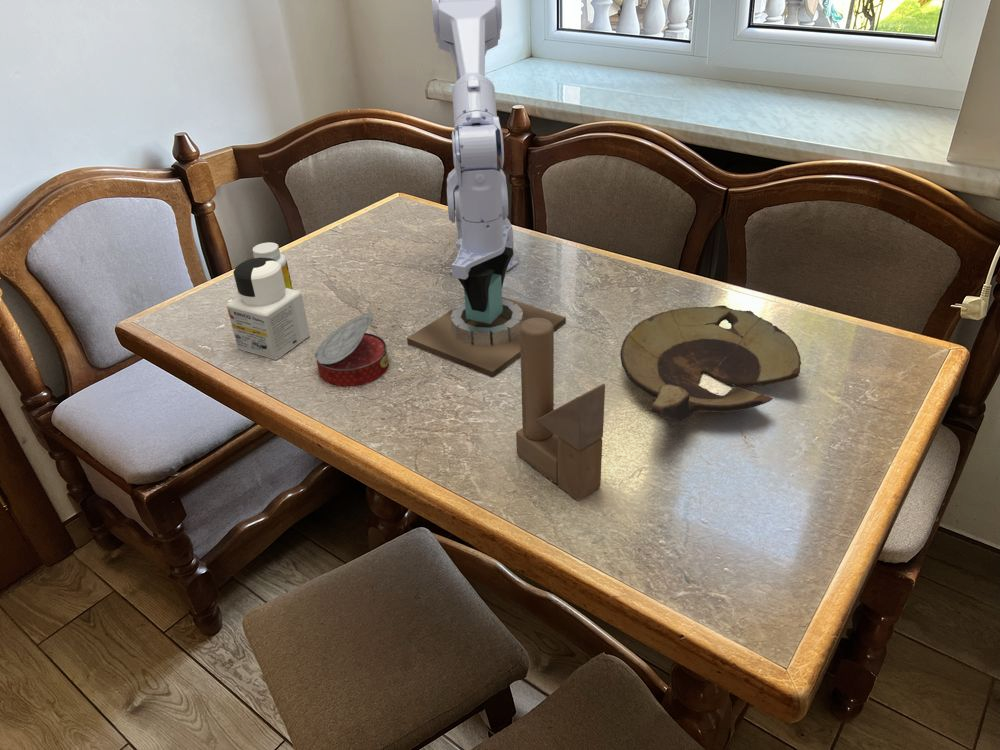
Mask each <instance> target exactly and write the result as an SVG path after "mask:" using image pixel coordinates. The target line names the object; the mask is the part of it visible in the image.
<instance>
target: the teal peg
mask: <svg viewBox="0 0 1000 750" xmlns="http://www.w3.org/2000/svg"><path fill="white" fill-rule="evenodd" d="M463 292H464V302H465V309H466V319H469V320H474V321H479V322H483V323H488V324H491V323H492V322H493V321H494V320H495V319H496V318H497V317H498V316H499V315H500V314H501V313H502V312H503V308H502V297H503V286H502V284H501V275H498V274H493V275H492V277H491V280H490V284H489V289H488V303H487V308H486V311H485V312H480V311H475V310H472V308H471V306H470V303H469V300H468V297H467V295H466V292H465V290H464V289H463Z"/></svg>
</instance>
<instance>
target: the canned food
mask: <svg viewBox="0 0 1000 750" xmlns="http://www.w3.org/2000/svg"><path fill="white" fill-rule="evenodd" d="M373 320H374V313H373V312H367V313H364V314H363V313H362V315H360V316H357V317H355V318H352V319H351V320H349V321H348V322H346V323H344V324H342V325H341V326H339V327H338V328H337V329H336V330H334V331H333V332H331V333H330V334H329V335H328V336H327V338H325V340H323V341H322V342H321V343H320V345H319V346H318V348H317V349H316V351H315V356H314V357H315V360H316V364H317V369H318V375H319V377H320V378H322V379H323V380H324V382H325V383H326V382H327V384H328V383H329V384H328V385H330V384H331V385H330V386H334V385H335V387H339V386H341V387H342V388H351V387H350V386H354V387H359V385H360V386H364V385H367V384H370V383H373V382H374V381H377V380H378V379H380V378H381V377H382V376H383V375H385V374H386V372H387V371H388V369H389V365H390V364H389V363H390V362H389V357H388V355H389V354H388V348H387V343H386V342H385V340H384V339H383V338H381V336H378V335H376V334H373V333H370V332H369V333H368V332H367V330H368V329H369V328H370V327H371V326H372V323H373ZM379 377H380V378H379ZM322 379H321V380H322ZM323 380H322V381H323ZM347 386H348V387H347Z"/></svg>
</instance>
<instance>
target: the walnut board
mask: <svg viewBox="0 0 1000 750" xmlns="http://www.w3.org/2000/svg"><path fill="white" fill-rule="evenodd" d="M502 299H505V300H508V301H511V302H514V303H515V304H517V305H518V306H519V307H520V308H521V309H522V310H523V321H525V320H527V319H530V318H544V319H547V320H549V321H550V322H551V323H552V324H553V326H554V333H555V332H556V331H558V330H560V328H561V327H563V326H564V325H565V324H566V323H567V320H566V319H567V317H566V316H563V315H559V314H557V313H555V312H554V313H553V312H551V311H548V310H546V309H545V310H544V309H542V308H538V307H535V306H532V305H529V304H526V303H523V302H519V301H517V300H513V299H512V298H511V299H510V298H508V297H504V296H502ZM461 304H462V303H461ZM461 304H459V305H461ZM453 310H455V309H454V308H452V309H451V310H450V311H448V312H446V313H444V314H443V315H441V316H439V317H438V318H436V319H435V320H434V321H432V322H430V323H429V324H427V325H425V326H424V327H422V328H420V329H419V330H417V331H415V332H414V333H413V334H411V335H410V336H408V337H406V342H407V345H410V346H412V347H414V348H418V349H420V350H421V351H425V352H427V353H429V354H432V355H435V356H437V357H440V358H442V359H444V360H447V361H449V362H450V361H451V362H452V363H455V364H457V365H460V366H463V367H464V368H468V369H469V370H473V371H475V372H478V373H480V374H482V375H485V376H487V377H490V378H493V379H494V378H495V377H496V376H497V375H499V374H500V373H502V372H503V371H504V370H505V369H507V368H508V367H510V366H511V365H512V364H513V363H515V362H516V361H518V360H520V359H521V353H520V335H519V336H517V337H516V338H515V339H513V340H512V341H509V342H507V343H503V344H499V345H495V346H493V345H492V344H491V346H474V344H472V345H470V344H467V343H464V342H462V341H459V339H457V338H456V337H455V336H454V334H453V333H452V330H451V319H450V317H451V314H452V312H453ZM507 321H509V320H508V319H507V318H504V317H501V316H498V317H497V318H496V319H495V320H494V321H493V322H492V323H491V324H488V323H483V322H479V321H474V320H468V321H467V322H465V323H466V324H469V325H472V326H474V327H486V328H490V327H495V326H499V325H503V324H504V323H506V322H507Z"/></svg>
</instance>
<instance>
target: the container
mask: <svg viewBox="0 0 1000 750" xmlns="http://www.w3.org/2000/svg"><path fill="white" fill-rule="evenodd" d="M233 277H234V281H235V285H236V288H237V293H238V296H237V297H235V298H233V299H232V300H230V301H228V303H227V304H226V309H227V312H228V317H229V320H230V323H231V327H232V331H233V335H234V338H235V342H236V346H237V349H238V350H241V351H245V352H247V353H252V354H255V355H259V356H262V357H266V358H269V359H273V360H276V361H277V360H279V359H280V358H281V357H283V356H285V354H287V353H288V352H290V351H292V349H294V348H296V347H297V346H298V345H299V344H301V343H302V342H304V341H305V340H306V339H308V338H309V337H310V336H311V335H310V330H309V329H310V328H309V324H308V319H307V314H306V310H305V303H304V299H303V295H302V292H301V291H300V290H297V289H289V288H286V287H285V283H284V278H283V273H282V269H281V264H280V263H279V262H278V261H276V260H274V259H271V258H254V257H253V258H250V259H247V260H244V261H242V262H241V263H238V265H236V267H235V268H234V270H233Z"/></svg>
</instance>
